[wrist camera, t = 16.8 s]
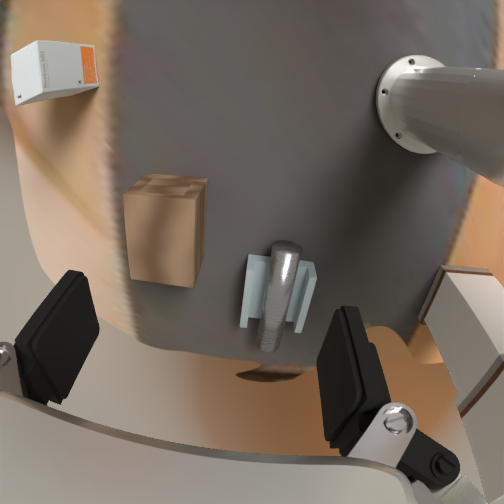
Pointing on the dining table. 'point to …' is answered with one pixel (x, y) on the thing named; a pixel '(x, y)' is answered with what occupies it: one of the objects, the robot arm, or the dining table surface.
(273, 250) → the axle
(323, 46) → the dining table surface
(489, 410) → the spiral staircase model
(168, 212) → the hollow wooden box
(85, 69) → the skincare box
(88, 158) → the dining table surface
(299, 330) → the cradle
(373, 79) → the dining table surface
